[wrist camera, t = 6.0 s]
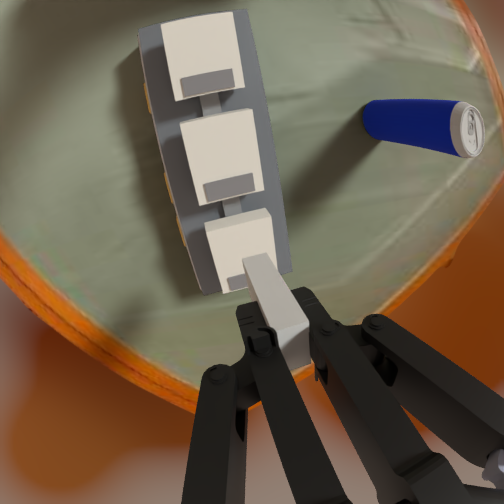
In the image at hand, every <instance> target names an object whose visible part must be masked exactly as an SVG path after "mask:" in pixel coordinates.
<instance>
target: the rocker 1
mask: <svg viewBox="0 0 504 504" xmlns="http://www.w3.org/2000/svg"><path fill="white" fill-rule="evenodd" d="M161 30H162V36H163V41H164V47H165V52H166V57H167V63H168V68H169V73H170V78H171V83H172V88H173V92H174V97H175V101H179V100H183V99H187V98H191V97H196V96H200V95H205V94H210V93H215V92H220V91H226V90H231V89H238V88H244V87H245V84H244V78H243V71H242V65H241V59H240V53H239V47H238V41H237V35H236V29H235V23H234V18H233V12H225V13H217V14H209V15H203V16H197V17H191V18H186V19H181V20H177V21H172V22H168V23H164V24H161Z"/></svg>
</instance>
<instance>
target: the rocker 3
mask: <svg viewBox="0 0 504 504" xmlns="http://www.w3.org/2000/svg"><path fill="white" fill-rule="evenodd" d="M204 225H205V230H206V234H207V238H208V242H209V245H210V249H211V252H212V256H213V260H214V263H215V266H216V270H217V273H218V277H219V280H220V284H221V287H222V290H223V294H224V293H228V292H232V291H236V290H239V289H243V288H247V287H248V285H247V280H246V276H245V271H244V267H243V262H242V258H246V257H250V256H254V255H258V254H262V253H265V252H266V253H267V254H268V256H269V257H270V259H271V261H272V262H273V264H274V265H275V267H276V269H277V270H278V268H277V259H276V251H275V242H274V234H273V226H272V218H271V215H270V214H269V212H268V211H267V209H266V208H261V209H257V210H253V211H249V212H245V213H241V214H237V215H233V216H228V217H224V218H221V219H217V220H213V221H209V222H205V223H204Z"/></svg>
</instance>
